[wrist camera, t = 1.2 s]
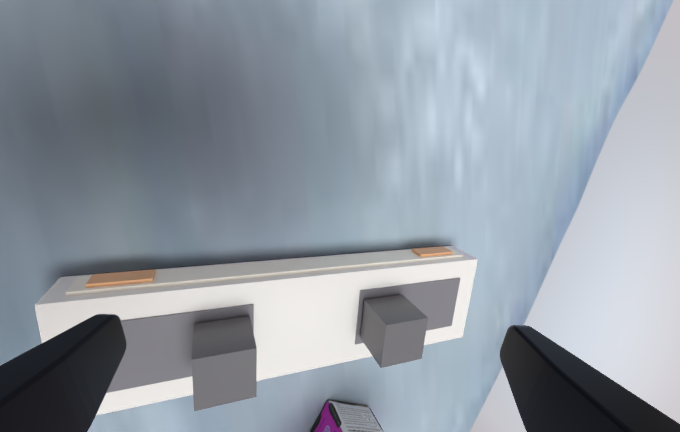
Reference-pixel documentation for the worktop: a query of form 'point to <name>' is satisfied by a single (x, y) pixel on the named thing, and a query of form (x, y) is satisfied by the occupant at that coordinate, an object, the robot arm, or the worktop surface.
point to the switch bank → (256, 311)
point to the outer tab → (393, 330)
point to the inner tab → (223, 362)
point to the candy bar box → (346, 418)
